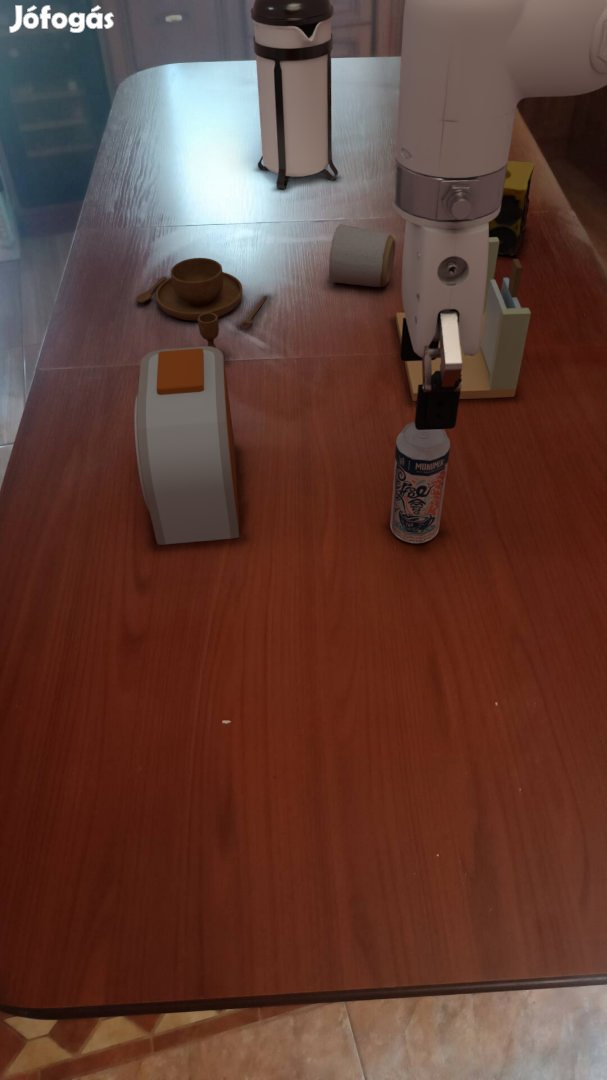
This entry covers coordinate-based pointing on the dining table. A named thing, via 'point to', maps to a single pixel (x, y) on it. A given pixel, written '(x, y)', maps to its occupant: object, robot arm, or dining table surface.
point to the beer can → (419, 483)
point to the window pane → (512, 286)
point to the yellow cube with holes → (513, 208)
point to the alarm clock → (186, 445)
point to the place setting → (199, 295)
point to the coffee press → (294, 86)
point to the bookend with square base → (486, 346)
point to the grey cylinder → (361, 256)
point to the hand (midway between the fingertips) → (426, 391)
